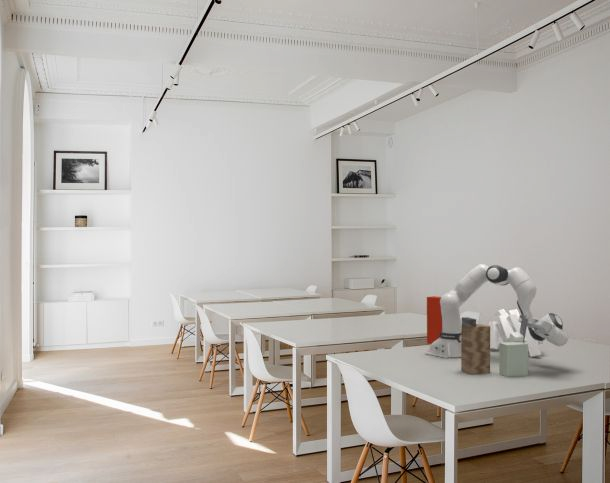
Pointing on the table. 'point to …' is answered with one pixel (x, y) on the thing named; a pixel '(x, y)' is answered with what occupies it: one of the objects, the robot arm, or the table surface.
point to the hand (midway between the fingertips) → (523, 316)
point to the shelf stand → (475, 347)
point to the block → (513, 359)
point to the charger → (520, 335)
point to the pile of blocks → (511, 331)
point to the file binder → (433, 319)
